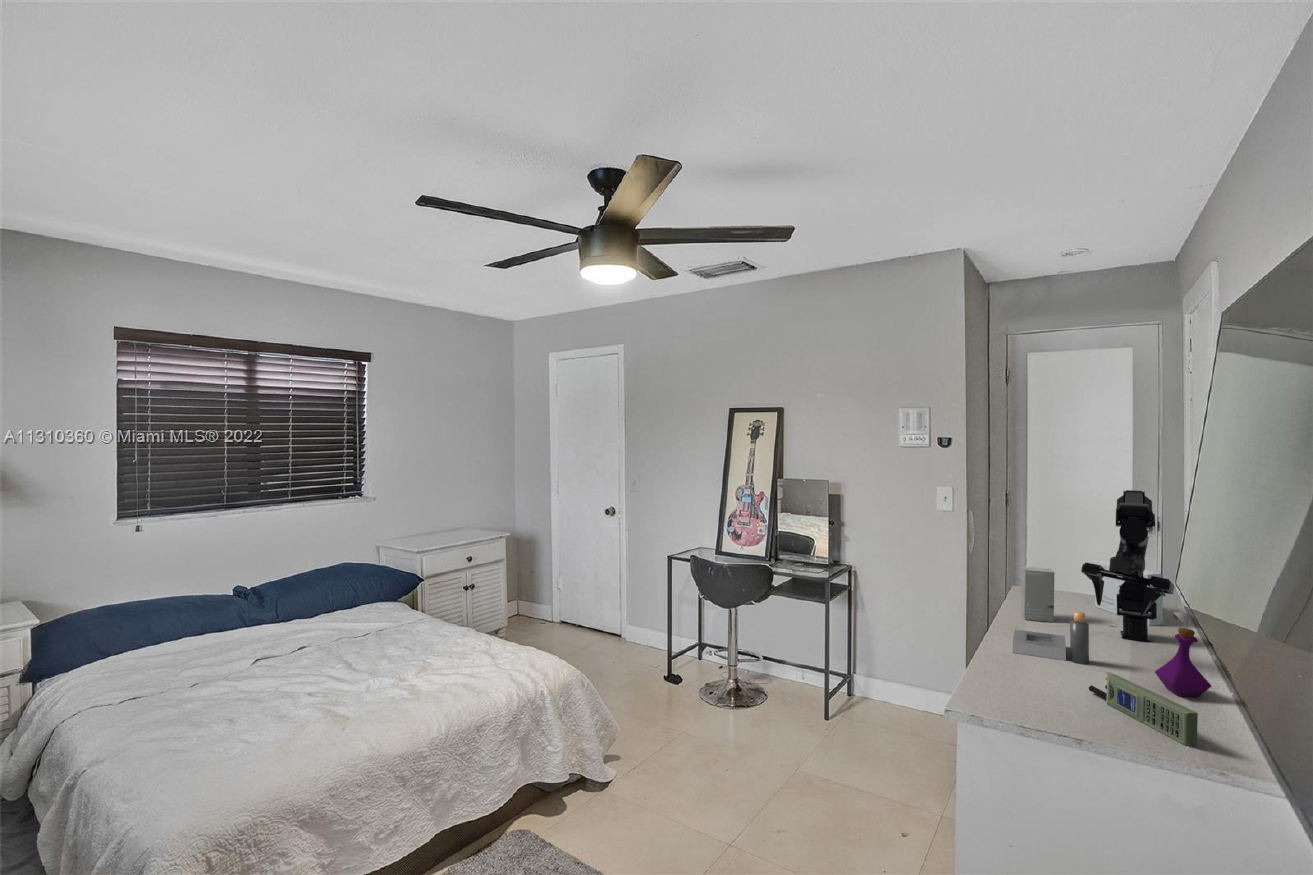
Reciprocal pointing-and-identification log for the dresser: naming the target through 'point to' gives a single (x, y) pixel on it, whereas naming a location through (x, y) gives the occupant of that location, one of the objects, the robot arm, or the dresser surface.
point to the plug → (1079, 639)
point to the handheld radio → (1150, 709)
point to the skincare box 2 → (1113, 589)
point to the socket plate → (1039, 644)
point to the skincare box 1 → (1038, 594)
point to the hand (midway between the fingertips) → (1119, 610)
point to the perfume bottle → (1183, 666)
